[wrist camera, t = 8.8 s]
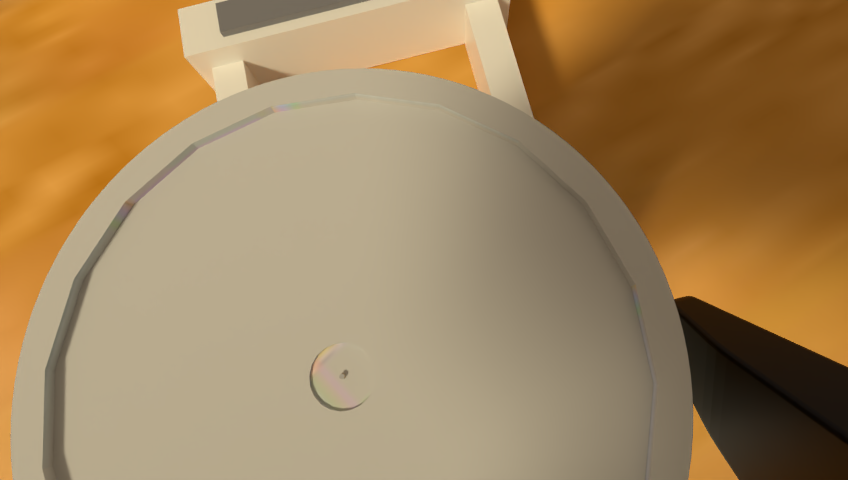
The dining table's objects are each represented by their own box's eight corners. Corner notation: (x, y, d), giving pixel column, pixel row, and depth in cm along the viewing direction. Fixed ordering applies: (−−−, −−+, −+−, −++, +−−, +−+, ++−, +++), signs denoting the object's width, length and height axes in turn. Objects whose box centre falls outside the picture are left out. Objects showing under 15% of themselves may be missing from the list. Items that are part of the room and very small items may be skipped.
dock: (555, 195, 21) (575, 158, 17) (252, 269, 21) (208, 249, 17) (493, -8, 23) (499, -79, 19) (219, 61, 23) (173, 4, 20)
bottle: (314, 305, 20) (-68, 144, 6) (495, 249, 20) (576, -57, 6) (364, 502, 19) (1, 989, 4) (561, 440, 19) (915, 705, 4)
